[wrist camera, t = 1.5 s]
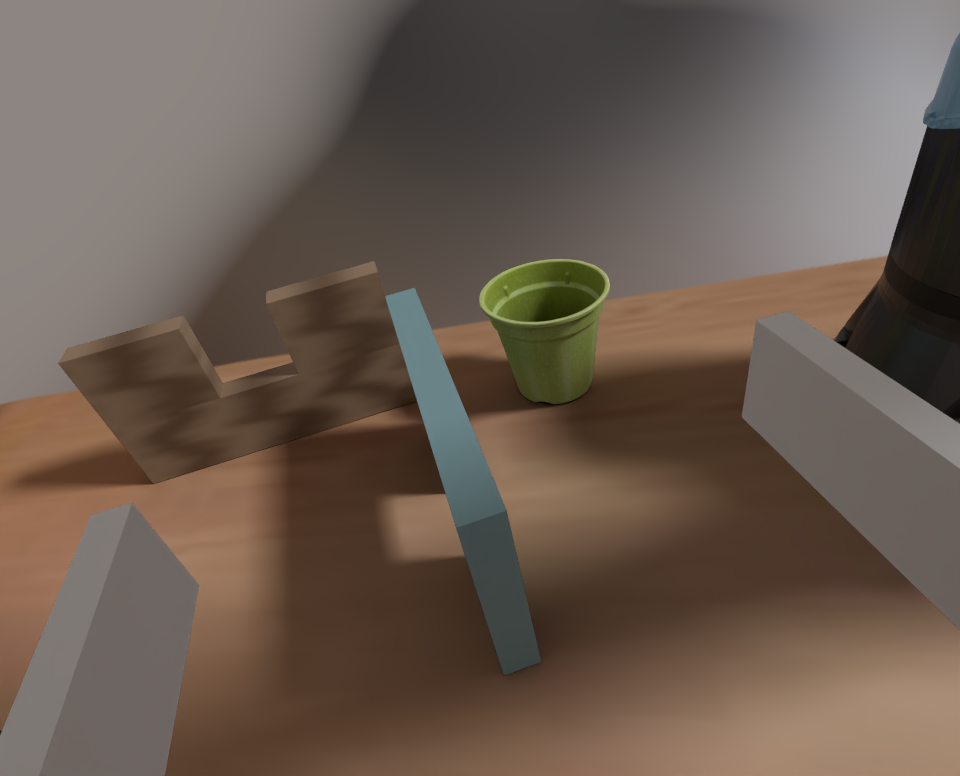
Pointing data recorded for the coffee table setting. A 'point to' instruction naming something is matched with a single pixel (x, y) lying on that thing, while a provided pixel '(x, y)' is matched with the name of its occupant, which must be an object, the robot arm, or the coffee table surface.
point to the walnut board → (247, 378)
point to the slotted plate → (467, 488)
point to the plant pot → (548, 325)
